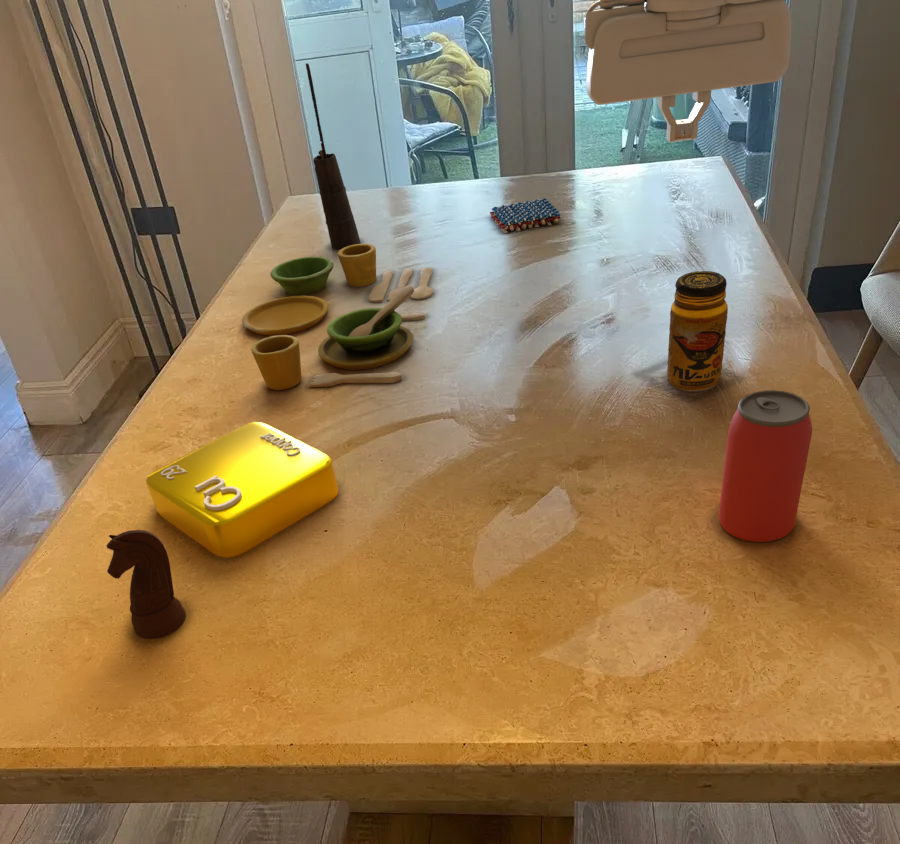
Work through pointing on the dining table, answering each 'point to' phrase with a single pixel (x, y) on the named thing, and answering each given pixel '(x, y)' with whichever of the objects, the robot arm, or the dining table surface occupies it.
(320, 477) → the element tile
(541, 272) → the dining table surface
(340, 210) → the butter churn
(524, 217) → the woven mat
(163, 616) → the chess piece
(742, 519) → the beer can
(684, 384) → the condiment
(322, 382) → the tableware set
